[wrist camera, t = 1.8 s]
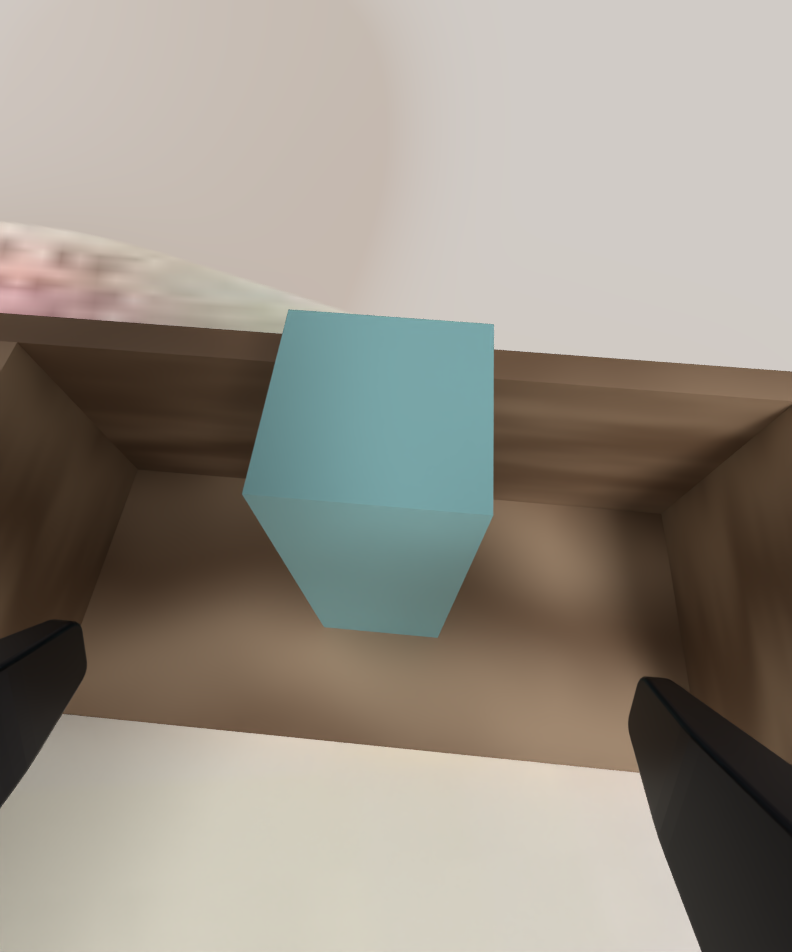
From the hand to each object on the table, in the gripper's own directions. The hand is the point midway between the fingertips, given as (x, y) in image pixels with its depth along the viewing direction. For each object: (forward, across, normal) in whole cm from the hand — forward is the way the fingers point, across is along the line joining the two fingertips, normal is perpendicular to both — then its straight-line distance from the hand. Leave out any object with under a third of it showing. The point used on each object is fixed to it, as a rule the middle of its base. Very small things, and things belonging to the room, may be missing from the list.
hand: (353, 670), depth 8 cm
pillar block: (+10, 0, +4) cm, 11 cm away
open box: (+11, 0, +5) cm, 12 cm away
